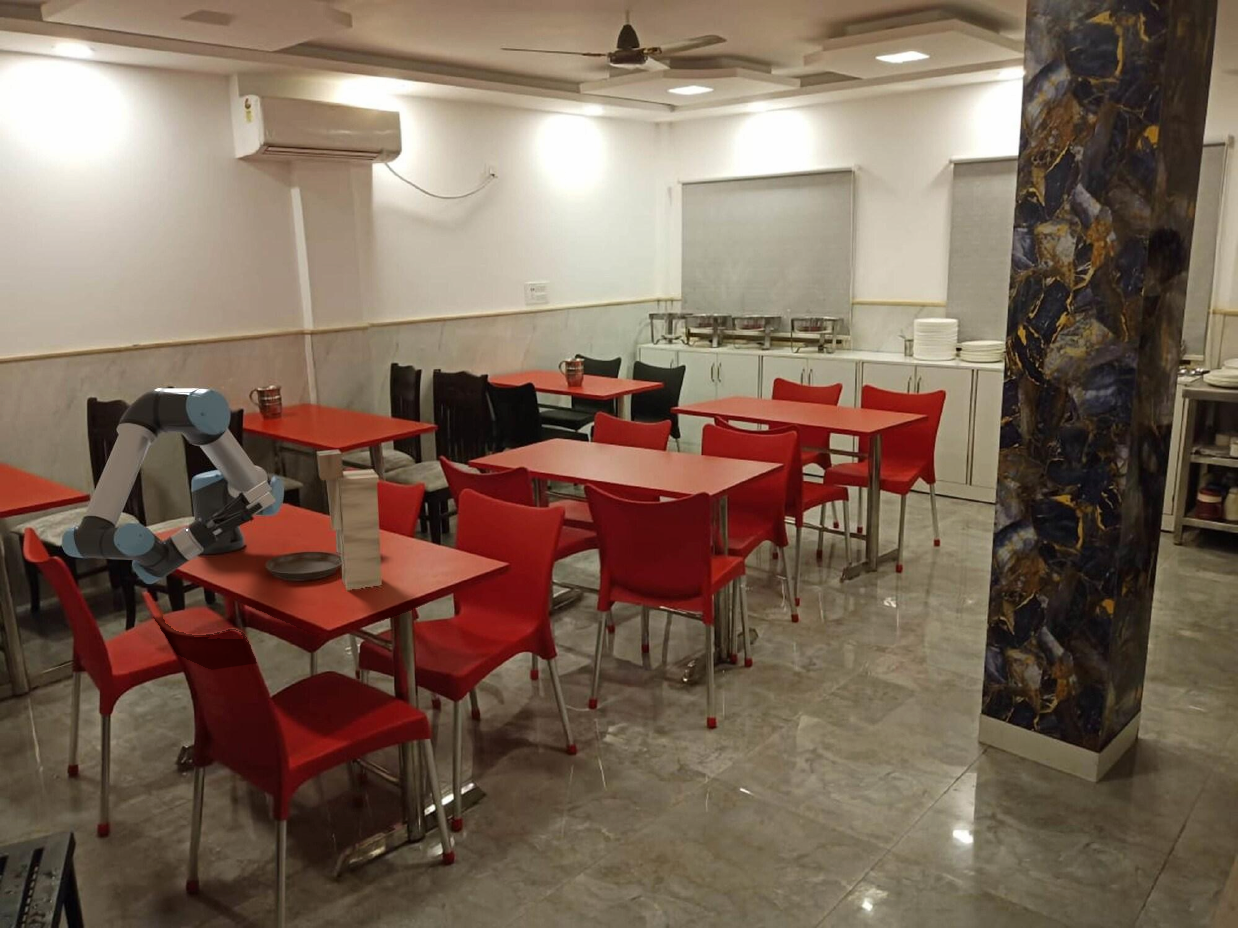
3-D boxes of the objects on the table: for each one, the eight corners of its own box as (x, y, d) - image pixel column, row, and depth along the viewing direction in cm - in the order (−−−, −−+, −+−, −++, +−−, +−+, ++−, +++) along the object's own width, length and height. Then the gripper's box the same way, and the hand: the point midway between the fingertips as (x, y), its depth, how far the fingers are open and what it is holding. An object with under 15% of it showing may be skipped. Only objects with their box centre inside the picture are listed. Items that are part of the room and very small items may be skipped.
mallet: (346, 524, 262) (324, 527, 260) (338, 449, 258) (316, 451, 256) (349, 529, 258) (327, 532, 255) (341, 453, 253) (319, 455, 251)
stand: (340, 579, 267) (334, 472, 261) (377, 575, 271) (372, 469, 265) (345, 591, 258) (339, 479, 252) (384, 586, 262) (378, 476, 256)
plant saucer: (316, 556, 289) (315, 545, 288) (359, 571, 276) (358, 559, 275) (251, 573, 273) (250, 562, 272) (293, 589, 260) (293, 577, 260)
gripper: (205, 536, 259) (275, 491, 264) (205, 563, 236) (283, 513, 241) (187, 514, 256) (259, 468, 261) (186, 539, 234) (265, 489, 238)
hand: (270, 490), depth 251 cm, fingers open, 13 cm apart
